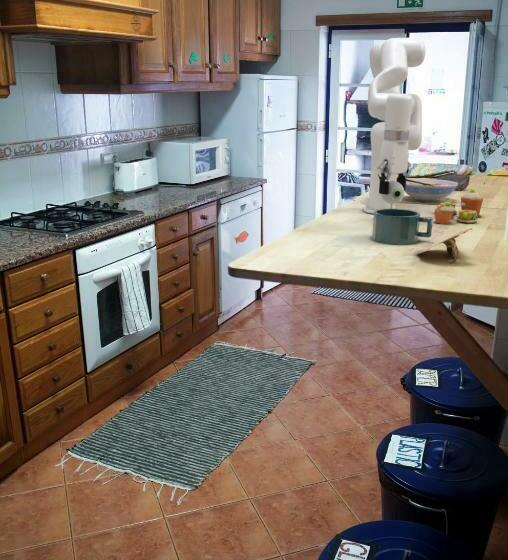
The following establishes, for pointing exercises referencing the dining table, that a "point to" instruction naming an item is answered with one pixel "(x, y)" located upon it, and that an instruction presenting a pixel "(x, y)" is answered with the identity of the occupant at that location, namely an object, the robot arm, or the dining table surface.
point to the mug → (399, 226)
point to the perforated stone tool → (457, 180)
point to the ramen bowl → (429, 189)
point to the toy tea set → (468, 211)
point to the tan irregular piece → (452, 245)
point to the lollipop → (394, 193)
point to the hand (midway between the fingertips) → (392, 192)
